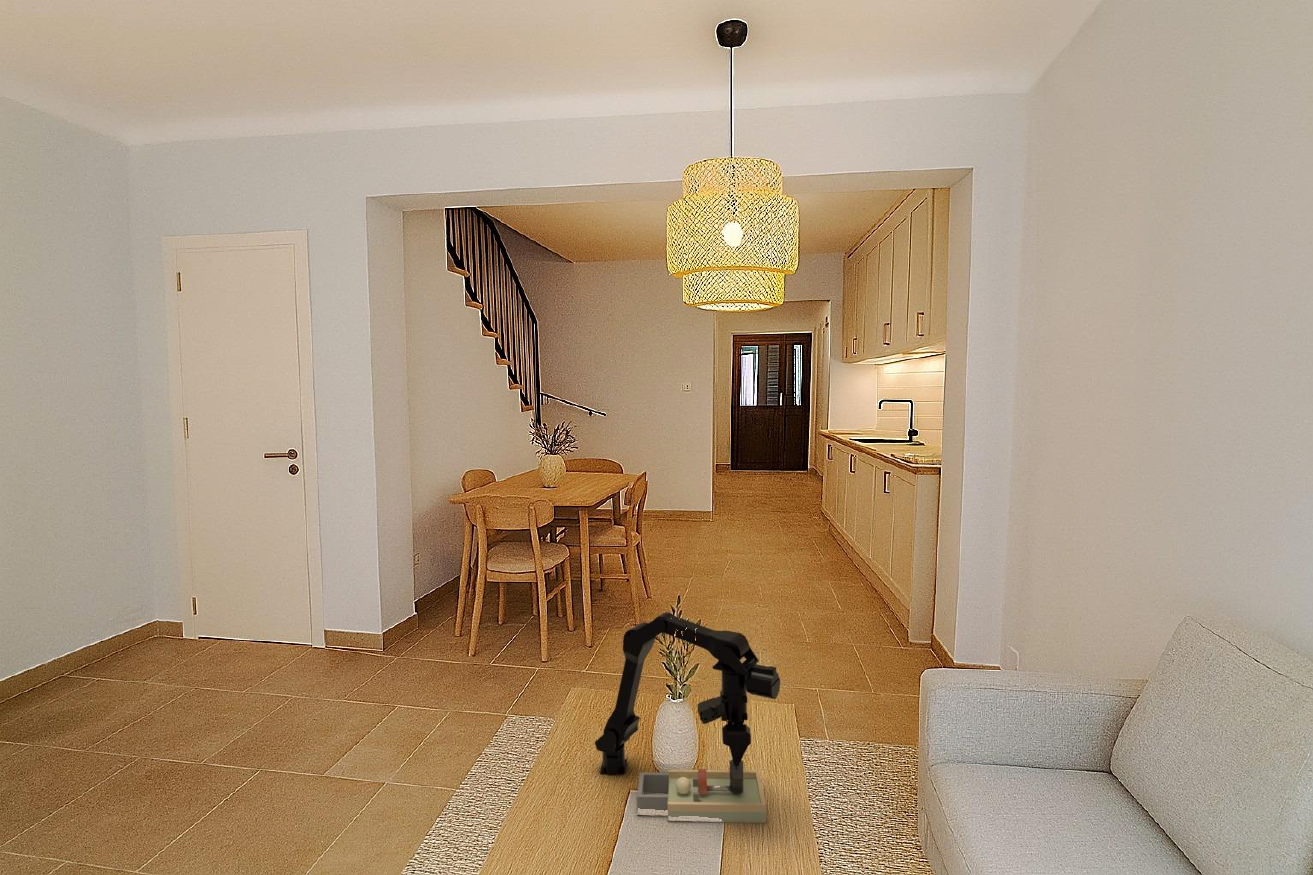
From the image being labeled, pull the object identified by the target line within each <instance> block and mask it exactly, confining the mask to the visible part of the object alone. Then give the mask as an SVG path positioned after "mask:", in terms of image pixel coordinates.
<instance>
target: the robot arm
mask: <svg viewBox="0 0 1313 875" xmlns="http://www.w3.org/2000/svg"><path fill="white" fill-rule="evenodd" d="M678 617H679V616H677V615H674V614H673V613H671V612H667V611H665V612H663V613H661V614H659V615H657V616H656V617H655V618H654V619H653V620H652V621H650V622H644V621H643V622H640V623H638V624H637V625H635V626H633V627H631V628H630V629H628V630H626V631H625V633H624V634H623V638H622V652H623V655H624V658H625V661H624V665H623V669H622V675H621V678H620V682H619V686H618V691H617V692H618V693H617V698H616V702H615V707H614V710H613V711H612V713H611V715H610V716H609V718H608V719H607V721H606V723H605V726H604V728H603V734H602V735H601V736H600V737H598V739H596V740H595V741H594V745H595V748H596V750H597V751H598V752H602V761H601V765H600V770H599V774H600V775H625V774H626V773H627V765H628V759H627V758H626V756H625V752H626V751H625V748H626V747H625V743H626V742H628V741H629V740H631V736H633V735H634V734H635V733H636V732H637V731H638V730H639V728H638V727H639V726H638V725H639V722H640V720H641V717H640V716H638V715H636V713H635V704H636V700H637V695H638V691H639V687H640V681H641V679H642V678H641V676H642V673H643V669H644V664H645V659H647V658H646V657H647V656H648V655H649V653H650V652H651V650H652V648H653V646H654V643H655V641H656V639H657V636H658V635H660V634H666V635H668V636H671V637H674V634H675V629H677V630H678V631H677V632H676V636H675V637H674V638H676V639H678V640H680V641H684V642H687V643H689V644H691V645H694V646H697V647H698V648H702V649H704V650H705V651H708V653H710V655H711V656H712V657H713V658H714V659H715V660H718V661H717V662H716V663H715V664H714V665H712V669H713V670H715V671H720V672H721V689H720V691H719V696H716V697H712V698H709V699H706V700H704V701H701V702H698V704H697V713H698V715H699V720H700V721H701V724H702V725H706V724H709V723H711V722H714V721H715V720H719V719H720V718H721V720H720V721H721V722H726V724H725V725H724V726H722V727H721V731H722V733H721V739H722V744H723V745H725V746H727V747H729V750H730V754H731V760H732V759H733V764H734V766H739V764H740V762H741V760H742V761H743V758H744V755H745V753H746V751H747V749H748V747H749V746H750V745H751V744H752V734H751V728H750V727H749V726H748V725H747V724H745V721H748V720H749V719H748V706H747V704H748V693H749V694H750V695H753V696H757V697H762V698H768V699H772V700H776V699H777V698H778V696H779V693H780V687H781V677H780V675H779V672H777V667H776V666H771V665H768V666H767V665H766V666H765V665H763V664H762V665H761V664H758V663H759V661H760V660H759V658H758V656H756V654H755V652H754V651H753V649H752V648H751V646H750V643H749V640H748V639H747V637H746V635H745V634H742V632H741V633H740V632H736V631H731V630H715V629H711V628H708V627H706V626H704V625H700V624H698V623H696V622H692V621H689V620H687V619H684V618H682V617H679V618H680V620H679V618H678ZM671 618H672V619H671ZM686 625H687V629H686V630H685V627H686ZM696 627H697V629H696V633H695V628H696ZM681 631H684V636H682V634H681ZM695 636H696V641H695ZM685 640H686V641H685ZM742 659H745V660H744V661H743V662H742Z"/></svg>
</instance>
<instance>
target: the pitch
mask: <svg viewBox="0 0 1313 875" xmlns="http://www.w3.org/2000/svg"><path fill="white" fill-rule="evenodd" d="M706 772H707V785H721V786H730V769H728V770H727V769H720V770H719V769H706ZM668 773H669V792H668V793H667V795H668V816H671V817H679V816H699V817H708V818H719V819H722V821H723V822H722V823H741V824H742V823H747V824H748V823H749V824H750V823H752V824H754V823H755V824H757V823H758V824H761V823H763V824H764V823H765V824H766V823H767V804H766V798H765V794H764V788H763V782H762V779H761V773H760V770H758V769H756V770H754V769H751V770H749V769H748V770H745V769H743V785H744V791H743V793H741V794H733V793H731V792H730V791H707V794H699V792H698V769H669V770H668ZM681 777H686V778H687V779H689V781H690V783H691V788H690V791H689V792H688V793H686V794H680V793H679V792H678V791H677V790H676V781H677V780H678V779H679V778H681ZM668 816H667V817H668Z"/></svg>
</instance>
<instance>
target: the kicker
mask: <svg viewBox="0 0 1313 875" xmlns="http://www.w3.org/2000/svg"><path fill="white" fill-rule="evenodd" d="M697 770H698V792H699V794H707V791H730V792H731V793H733V794H741V793H743V791H744V785H743V770H744V761H743V759H742V760H741V762H740V764H739V766H734V764H733V759H732V758H731V760H729V770H730V786H721V785H707V772H706V770H707V769H706V768H698V769H697Z"/></svg>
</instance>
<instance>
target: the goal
mask: <svg viewBox="0 0 1313 875" xmlns="http://www.w3.org/2000/svg"><path fill="white" fill-rule="evenodd" d="M637 787H638V788H637V793H636V794H637V795H636V796H637V797H636V801H637V802H636V804H637V805H636V806H637V808H640V809H655V810H664V811H665V810H668V792H669V772H641V771H640V772H639V778H638V786H637ZM644 792H650V793H646V794H645V793H644ZM643 793H644V794H643ZM637 808H636V809H637Z"/></svg>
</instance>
